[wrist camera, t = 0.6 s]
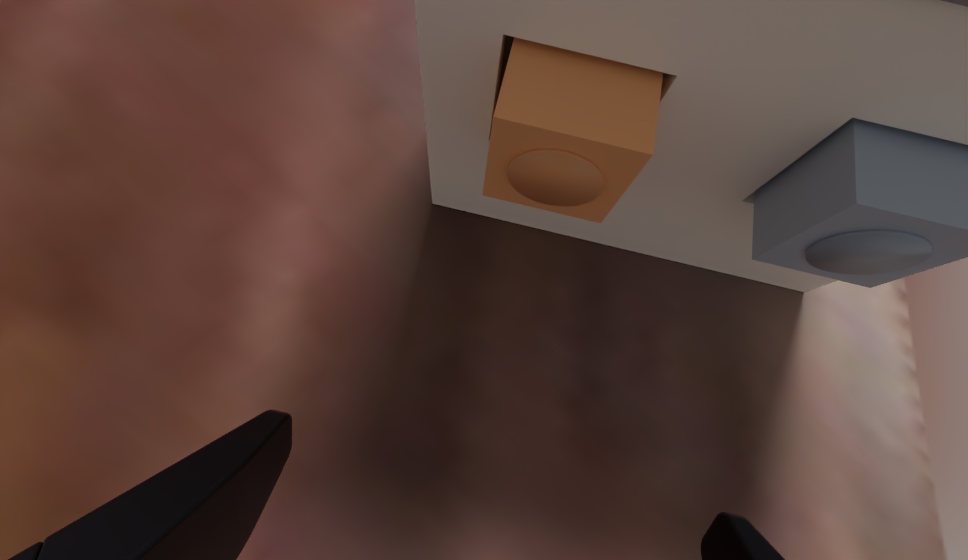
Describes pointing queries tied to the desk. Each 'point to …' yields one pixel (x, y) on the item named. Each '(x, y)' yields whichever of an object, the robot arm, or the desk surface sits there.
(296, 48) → the desk surface
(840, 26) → the control box
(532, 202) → the orange button
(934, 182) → the slate button
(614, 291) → the desk surface
